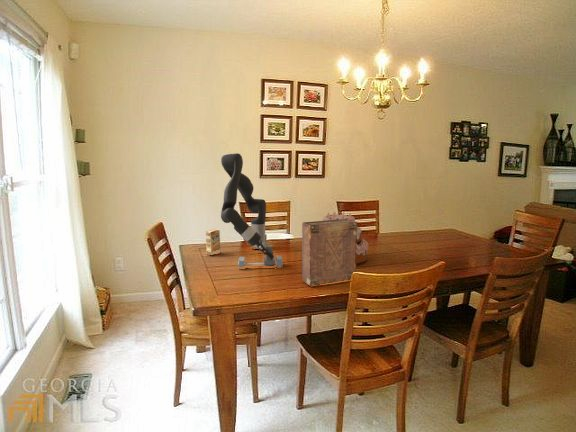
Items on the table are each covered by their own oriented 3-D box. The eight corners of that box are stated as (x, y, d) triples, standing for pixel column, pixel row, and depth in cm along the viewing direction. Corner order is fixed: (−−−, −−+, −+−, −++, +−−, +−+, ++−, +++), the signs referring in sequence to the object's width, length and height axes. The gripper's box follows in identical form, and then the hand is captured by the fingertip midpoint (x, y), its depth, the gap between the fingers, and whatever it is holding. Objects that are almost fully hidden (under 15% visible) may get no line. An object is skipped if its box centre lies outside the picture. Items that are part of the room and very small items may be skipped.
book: (345, 275, 192) (347, 218, 187) (355, 280, 184) (357, 221, 179) (301, 282, 182) (302, 222, 177) (310, 288, 174) (310, 225, 169)
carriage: (264, 266, 204) (264, 247, 202) (263, 263, 209) (263, 244, 208) (275, 265, 204) (275, 247, 202) (274, 262, 210) (274, 244, 208)
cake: (367, 269, 203) (369, 219, 198) (305, 265, 210) (305, 217, 205) (367, 252, 237) (369, 209, 232) (313, 249, 244) (313, 208, 239)
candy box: (211, 256, 228) (210, 232, 225) (206, 255, 230) (205, 231, 227) (220, 253, 235) (220, 229, 233) (215, 252, 238) (214, 228, 235)
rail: (238, 269, 201) (237, 261, 201) (238, 265, 209) (238, 256, 208) (283, 268, 204) (283, 259, 203) (282, 264, 212) (282, 255, 211)
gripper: (255, 233, 196) (278, 254, 199) (255, 228, 210) (276, 248, 213) (245, 243, 196) (268, 264, 199) (246, 237, 210) (267, 257, 213)
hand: (272, 256), depth 206 cm, fingers open, 6 cm apart
